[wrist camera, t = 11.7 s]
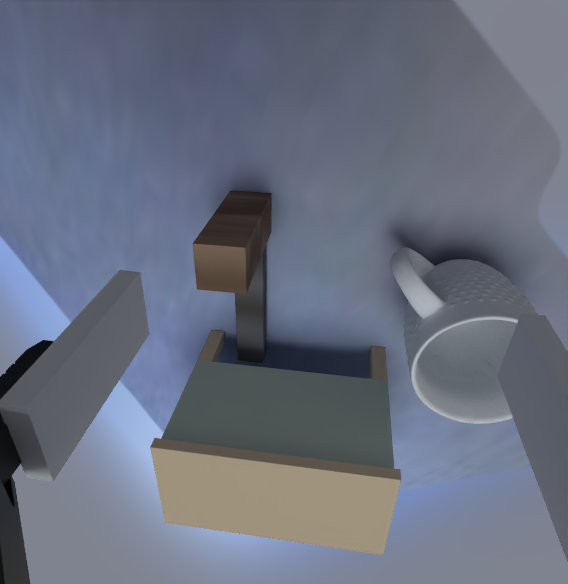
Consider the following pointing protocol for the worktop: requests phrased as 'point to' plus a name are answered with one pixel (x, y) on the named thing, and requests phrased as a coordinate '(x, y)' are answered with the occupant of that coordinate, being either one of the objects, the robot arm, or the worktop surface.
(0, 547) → the robot arm
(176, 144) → the worktop surface
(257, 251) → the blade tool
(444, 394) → the mug
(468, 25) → the worktop surface
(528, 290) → the worktop surface
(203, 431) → the cabinet
